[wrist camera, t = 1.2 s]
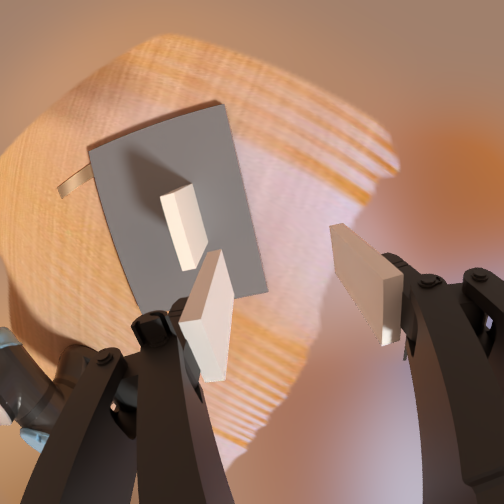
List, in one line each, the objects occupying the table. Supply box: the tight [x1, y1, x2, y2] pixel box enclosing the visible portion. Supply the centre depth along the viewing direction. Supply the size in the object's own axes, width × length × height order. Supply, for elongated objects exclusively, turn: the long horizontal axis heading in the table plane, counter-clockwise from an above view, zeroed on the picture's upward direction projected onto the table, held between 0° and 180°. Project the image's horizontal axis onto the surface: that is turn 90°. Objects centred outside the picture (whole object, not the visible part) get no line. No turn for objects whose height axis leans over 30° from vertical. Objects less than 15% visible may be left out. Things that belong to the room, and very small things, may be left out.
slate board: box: [89, 104, 268, 315], centre depth 36 cm, size 20×26×1 cm
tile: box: [160, 184, 208, 271], centre depth 31 cm, size 2×8×9 cm, turn 13°
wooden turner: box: [58, 164, 94, 199], centre depth 34 cm, size 20×6×1 cm, turn 112°
